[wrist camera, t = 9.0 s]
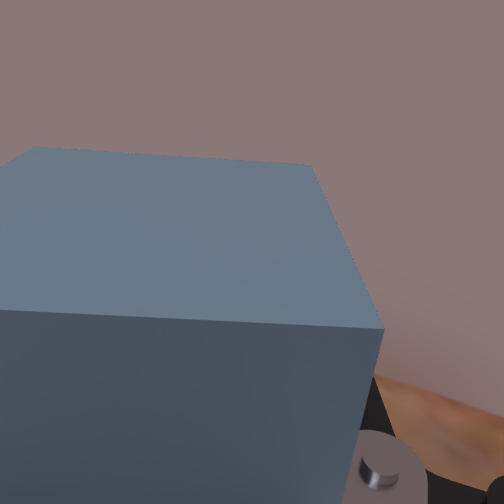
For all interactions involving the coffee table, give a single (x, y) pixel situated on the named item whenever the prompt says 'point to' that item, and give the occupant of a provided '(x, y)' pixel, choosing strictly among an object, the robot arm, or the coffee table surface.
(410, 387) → the coffee table surface
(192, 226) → the slate brick
